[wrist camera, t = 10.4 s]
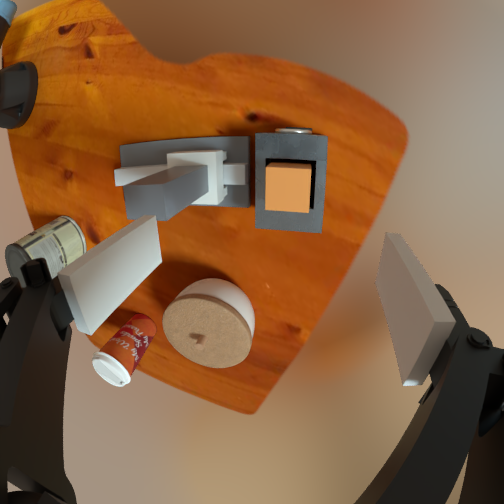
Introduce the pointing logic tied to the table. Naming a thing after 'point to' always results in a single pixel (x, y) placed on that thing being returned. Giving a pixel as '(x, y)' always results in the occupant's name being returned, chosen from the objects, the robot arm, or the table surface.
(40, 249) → the coffee can
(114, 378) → the paper cup
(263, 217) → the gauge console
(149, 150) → the rail bed
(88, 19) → the table surface
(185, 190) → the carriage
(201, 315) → the lidded bowl
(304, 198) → the button
